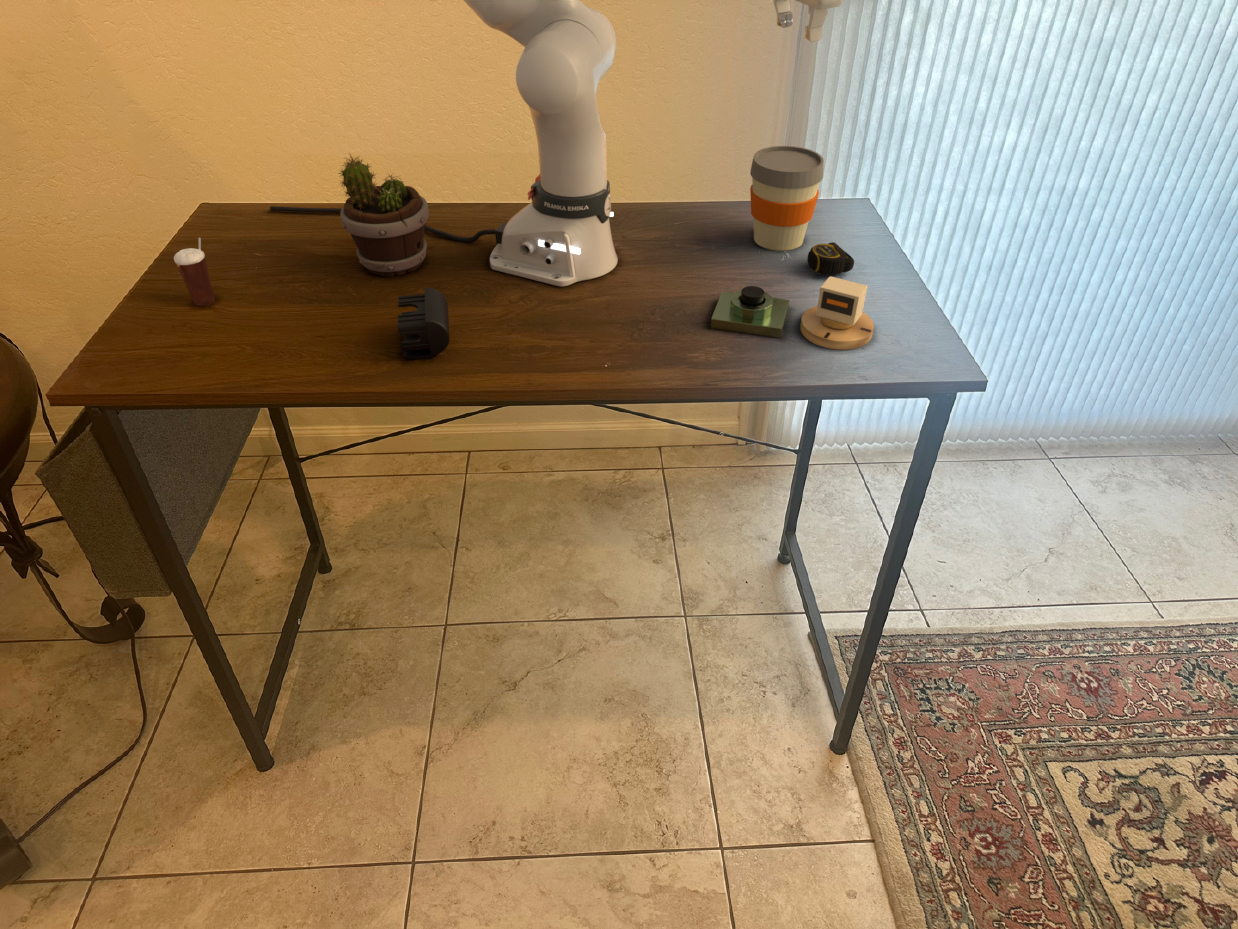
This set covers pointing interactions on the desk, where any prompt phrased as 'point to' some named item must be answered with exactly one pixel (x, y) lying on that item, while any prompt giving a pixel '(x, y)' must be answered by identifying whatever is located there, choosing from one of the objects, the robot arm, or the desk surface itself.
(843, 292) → the tan cube with screen
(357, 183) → the flowerpot
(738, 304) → the base
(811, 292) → the desk surface
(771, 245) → the reusable coffee cup
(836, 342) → the stand
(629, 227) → the desk surface
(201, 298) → the milkshake
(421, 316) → the end cap
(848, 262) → the tape measure
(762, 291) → the button
